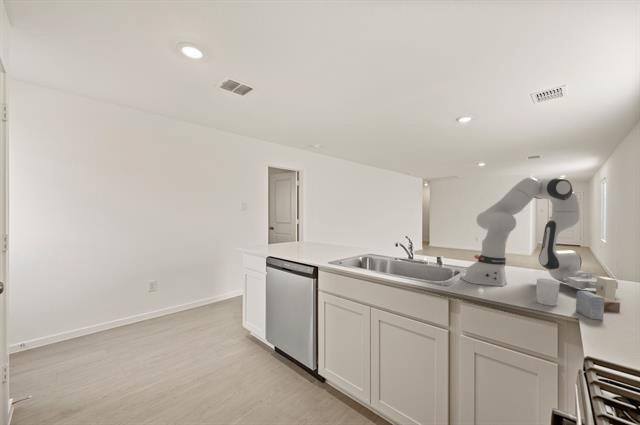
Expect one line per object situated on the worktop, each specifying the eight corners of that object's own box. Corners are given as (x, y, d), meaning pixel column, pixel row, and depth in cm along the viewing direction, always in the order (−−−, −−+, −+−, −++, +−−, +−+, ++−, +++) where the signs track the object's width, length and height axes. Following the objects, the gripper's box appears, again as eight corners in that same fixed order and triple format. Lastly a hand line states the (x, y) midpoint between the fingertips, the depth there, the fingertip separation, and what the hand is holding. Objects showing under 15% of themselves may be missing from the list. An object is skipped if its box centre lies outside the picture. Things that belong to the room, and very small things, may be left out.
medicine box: (603, 320, 103) (605, 298, 103) (589, 319, 104) (591, 296, 104) (587, 312, 111) (589, 291, 111) (575, 310, 112) (576, 290, 112)
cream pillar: (604, 300, 125) (606, 279, 124) (595, 297, 129) (597, 276, 129) (614, 301, 125) (616, 279, 124) (605, 297, 129) (606, 277, 128)
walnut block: (597, 311, 113) (597, 301, 113) (577, 303, 122) (577, 294, 122) (619, 312, 113) (620, 302, 112) (597, 303, 122) (598, 295, 121)
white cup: (533, 302, 120) (534, 280, 120) (537, 298, 125) (538, 277, 125) (556, 308, 114) (557, 284, 114) (560, 304, 119) (561, 281, 119)
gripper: (559, 272, 140) (585, 280, 126) (600, 274, 139) (630, 282, 125) (559, 284, 140) (584, 294, 126) (599, 286, 139) (629, 295, 125)
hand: (607, 288), depth 126 cm, fingers closed on cream pillar, 4 cm apart
